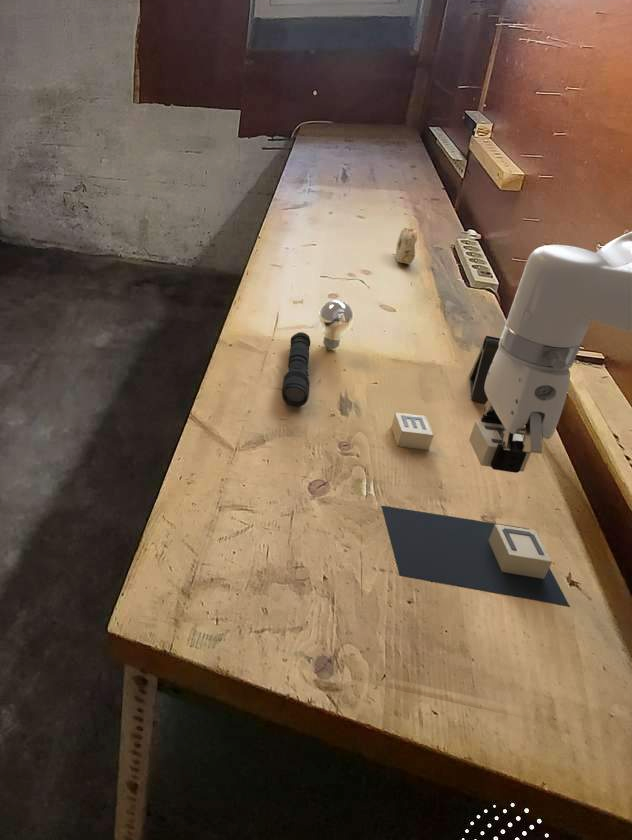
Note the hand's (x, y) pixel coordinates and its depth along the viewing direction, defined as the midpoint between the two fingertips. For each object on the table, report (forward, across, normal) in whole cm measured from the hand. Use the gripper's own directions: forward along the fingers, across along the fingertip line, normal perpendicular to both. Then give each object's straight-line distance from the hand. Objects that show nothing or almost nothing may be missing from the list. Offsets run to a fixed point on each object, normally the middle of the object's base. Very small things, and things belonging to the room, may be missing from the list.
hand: (496, 453), depth 77 cm
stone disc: (+15, +96, -11) cm, 98 cm away
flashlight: (+15, +33, +22) cm, 42 cm away
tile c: (+14, -5, -4) cm, 15 cm away
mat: (+14, -5, +2) cm, 15 cm away
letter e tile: (+14, +18, +4) cm, 23 cm away
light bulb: (+15, +45, +14) cm, 49 cm away
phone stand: (+15, +35, -14) cm, 40 cm away
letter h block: (0, 0, 0) cm, 0 cm away
